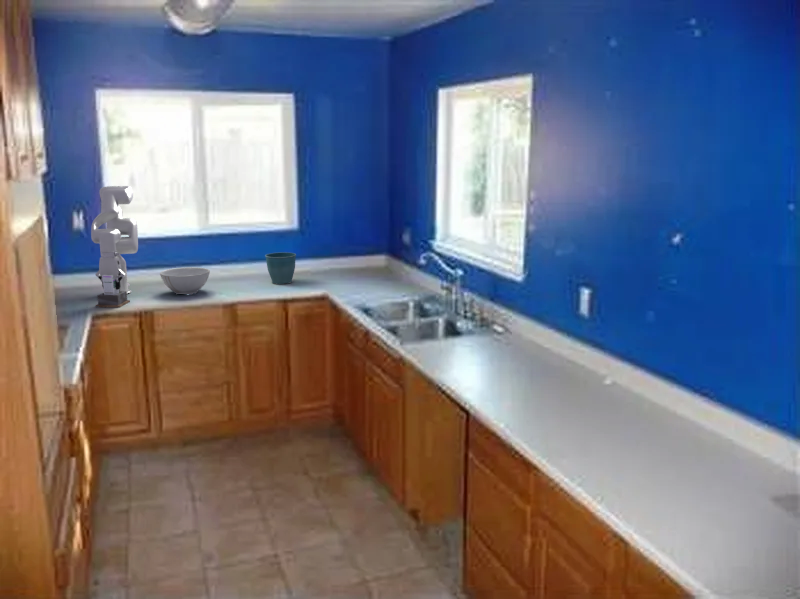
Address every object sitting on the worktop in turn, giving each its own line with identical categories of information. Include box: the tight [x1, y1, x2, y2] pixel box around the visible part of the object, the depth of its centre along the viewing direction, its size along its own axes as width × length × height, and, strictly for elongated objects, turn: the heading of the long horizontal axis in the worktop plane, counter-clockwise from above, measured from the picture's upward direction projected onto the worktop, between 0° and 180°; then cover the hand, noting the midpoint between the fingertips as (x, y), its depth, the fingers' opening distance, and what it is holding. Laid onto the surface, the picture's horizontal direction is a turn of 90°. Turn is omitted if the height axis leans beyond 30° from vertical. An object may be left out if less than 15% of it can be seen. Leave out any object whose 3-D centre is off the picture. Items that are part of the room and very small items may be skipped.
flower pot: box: [264, 251, 297, 285], centre depth 432 cm, size 18×18×17 cm
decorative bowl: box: [159, 266, 211, 295], centre depth 404 cm, size 27×27×12 cm
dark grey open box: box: [95, 291, 131, 309], centre depth 377 cm, size 13×13×6 cm
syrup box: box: [102, 275, 120, 295], centre depth 375 cm, size 6×6×14 cm
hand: (111, 288), depth 376 cm, fingers closed on syrup box, 6 cm apart
